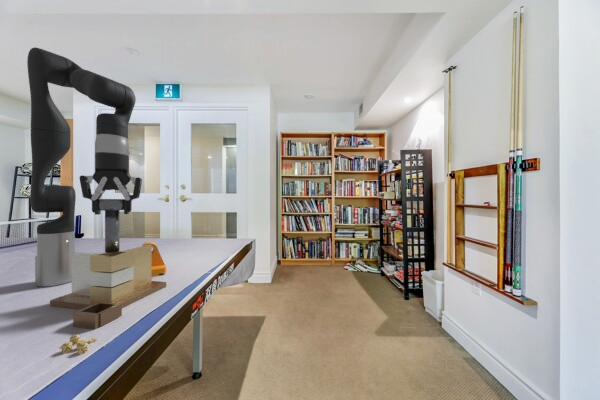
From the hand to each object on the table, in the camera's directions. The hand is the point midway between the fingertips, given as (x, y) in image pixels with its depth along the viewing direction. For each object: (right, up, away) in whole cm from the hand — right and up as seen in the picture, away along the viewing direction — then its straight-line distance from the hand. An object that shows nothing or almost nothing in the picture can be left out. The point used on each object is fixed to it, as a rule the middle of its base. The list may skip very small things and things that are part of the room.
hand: (112, 213), depth 68 cm
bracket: (-5, -25, +26) cm, 36 cm away
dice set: (+9, -26, -20) cm, 34 cm away
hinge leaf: (-5, -23, +1) cm, 23 cm away
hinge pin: (0, -10, 0) cm, 10 cm away
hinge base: (-2, -25, +1) cm, 25 cm away
